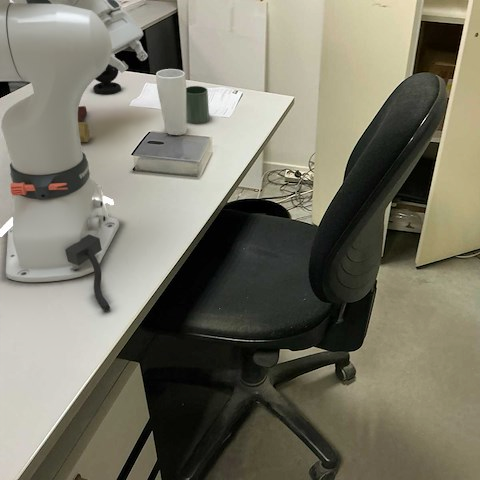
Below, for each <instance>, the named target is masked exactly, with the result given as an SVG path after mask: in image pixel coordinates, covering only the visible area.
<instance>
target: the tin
mask: <svg viewBox="0 0 480 480" xmlns="http://www.w3.org/2000/svg"><path fill="white" fill-rule="evenodd" d="M209 107H210V106H209V91H208V88H207V87H205V86H200V85H192V86H186V123H189V124H195V125H200V124H201V125H202V124H205V123H207V122H209V121H210V110H209Z"/></svg>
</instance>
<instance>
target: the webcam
mask: <svg viewBox="0 0 480 480" xmlns="http://www.w3.org/2000/svg"><path fill="white" fill-rule="evenodd" d="M118 75H119V70H118V69H117V68H116V67H114V66H112V65H110V64H108V65H107V67H106V69H105V70H104V71H103V72H102V74H101V75H99V76H98V77H97V78H95V79H94V81H97V82H99V83H96V84H94V85H93V87H92V89H93V91H94V92H95V94H100V95H114V94H116V93H118V92H120V91H121V90H122V86H121V84H120V83H117V82H115V81H114V80H115V79H117V77H118Z"/></svg>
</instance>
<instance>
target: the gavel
mask: <svg viewBox="0 0 480 480" xmlns="http://www.w3.org/2000/svg"><path fill="white" fill-rule="evenodd" d="M87 113H88V109H87V106H86V105H79V107H78V128H79V136H80V142H81V143H88V142H89V140H90V133H91V132H90V126H89V124H88V123H87V121H82V120H83V119H84V117H85V116H86V115H87Z"/></svg>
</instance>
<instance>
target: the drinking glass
mask: <svg viewBox="0 0 480 480" xmlns="http://www.w3.org/2000/svg"><path fill="white" fill-rule="evenodd" d="M155 79H156V90H157V96H158V101H159V105H160V110H161V115H162V119H163V125H164V132H165V134H167V133H169V134H178V135H179V136H183V135H185V134H186V133H187V131H188V127H187V121H186V88H187V81H186V73H185V71H183V70H181V69H178V68H177V69H176V68H168V69H167V68H166V69H161V70H158V71H157V72H156V73H155Z"/></svg>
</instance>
